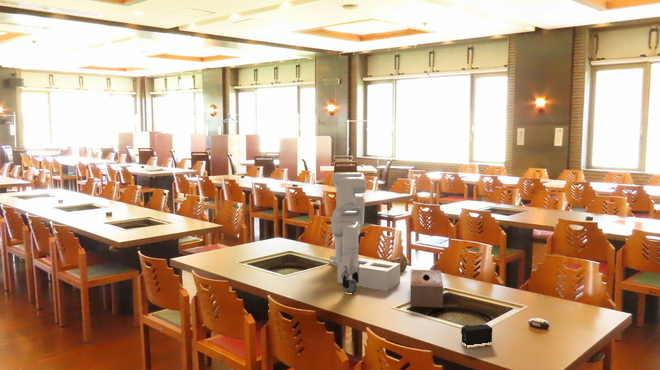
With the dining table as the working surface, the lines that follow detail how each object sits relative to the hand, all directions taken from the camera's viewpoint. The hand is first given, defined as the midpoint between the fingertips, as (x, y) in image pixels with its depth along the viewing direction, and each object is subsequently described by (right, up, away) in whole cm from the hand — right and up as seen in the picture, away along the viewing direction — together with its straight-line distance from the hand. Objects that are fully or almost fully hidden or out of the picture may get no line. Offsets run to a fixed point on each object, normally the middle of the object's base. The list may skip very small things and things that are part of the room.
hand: (350, 284), depth 269 cm
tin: (+27, 0, +36) cm, 45 cm away
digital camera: (+45, -12, -59) cm, 75 cm away
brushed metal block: (0, -4, +1) cm, 4 cm away
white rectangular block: (+10, -2, +18) cm, 21 cm away
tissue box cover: (+35, -5, -6) cm, 36 cm away
